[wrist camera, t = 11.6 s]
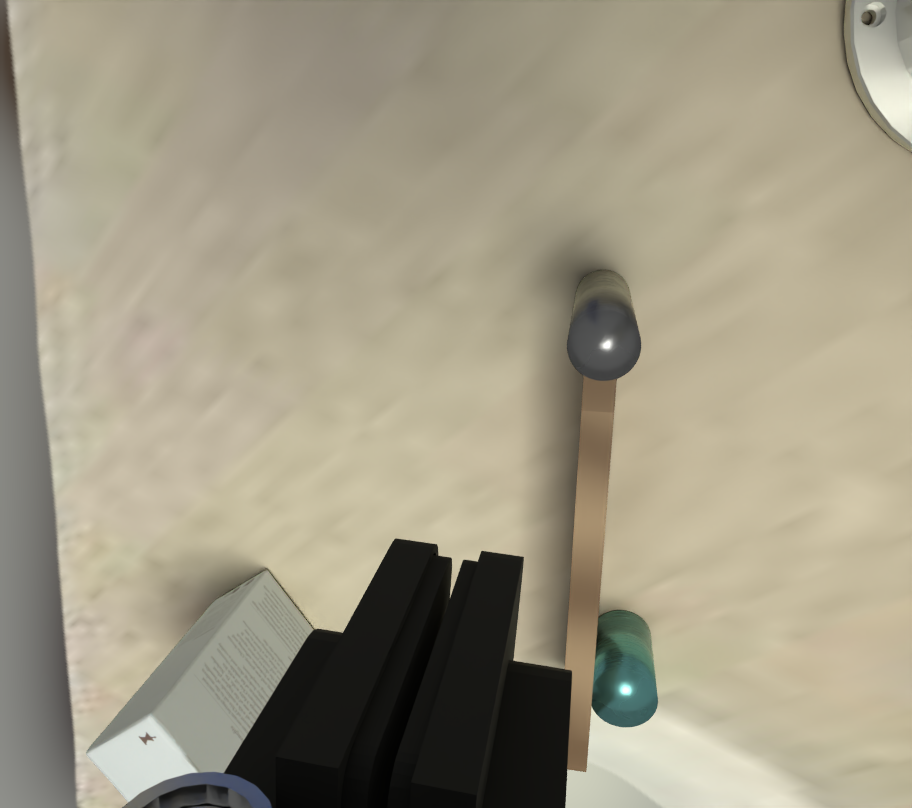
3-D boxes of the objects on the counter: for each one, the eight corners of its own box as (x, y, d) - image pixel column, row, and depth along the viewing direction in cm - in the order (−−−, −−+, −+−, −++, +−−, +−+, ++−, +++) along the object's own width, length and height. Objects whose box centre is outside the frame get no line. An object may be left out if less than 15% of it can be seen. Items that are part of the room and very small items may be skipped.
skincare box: (212, 599, 44) (78, 751, 33) (268, 566, 43) (149, 711, 31) (277, 682, 45) (168, 857, 33) (334, 651, 43) (240, 823, 32)
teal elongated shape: (635, 267, 35) (649, 306, 25) (651, 661, 40) (668, 814, 31) (567, 273, 35) (555, 313, 26) (592, 661, 41) (590, 810, 31)
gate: (586, 331, 35) (583, 369, 29) (613, 332, 35) (617, 371, 29) (564, 672, 41) (558, 768, 34) (588, 675, 40) (586, 771, 34)
